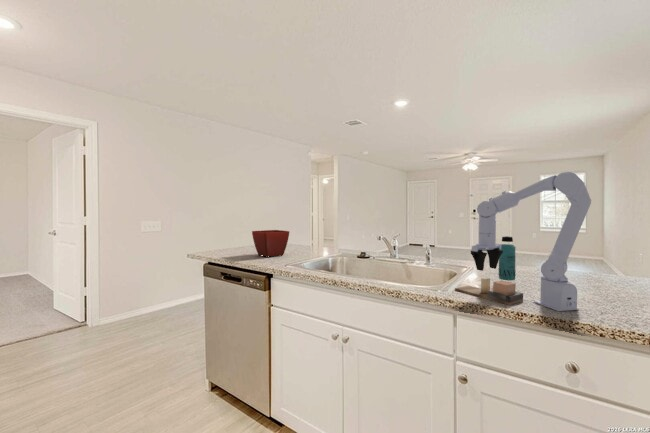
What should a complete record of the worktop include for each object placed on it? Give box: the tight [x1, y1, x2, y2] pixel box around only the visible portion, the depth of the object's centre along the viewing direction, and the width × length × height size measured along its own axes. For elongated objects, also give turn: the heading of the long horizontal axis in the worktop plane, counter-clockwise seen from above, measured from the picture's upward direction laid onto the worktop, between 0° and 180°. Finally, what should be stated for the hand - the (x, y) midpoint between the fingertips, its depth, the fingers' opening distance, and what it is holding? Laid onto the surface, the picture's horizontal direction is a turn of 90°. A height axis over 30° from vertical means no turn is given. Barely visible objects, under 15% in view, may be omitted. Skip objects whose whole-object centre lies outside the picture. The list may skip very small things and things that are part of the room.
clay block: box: [480, 277, 517, 295], centre depth 111 cm, size 11×5×5 cm, turn 30°
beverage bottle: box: [498, 235, 517, 282], centre depth 133 cm, size 6×7×20 cm
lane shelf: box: [454, 284, 524, 306], centre depth 114 cm, size 21×8×3 cm, turn 30°
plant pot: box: [251, 229, 290, 258], centre depth 209 cm, size 19×19×17 cm
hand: (486, 269), depth 116 cm, fingers open, 7 cm apart
